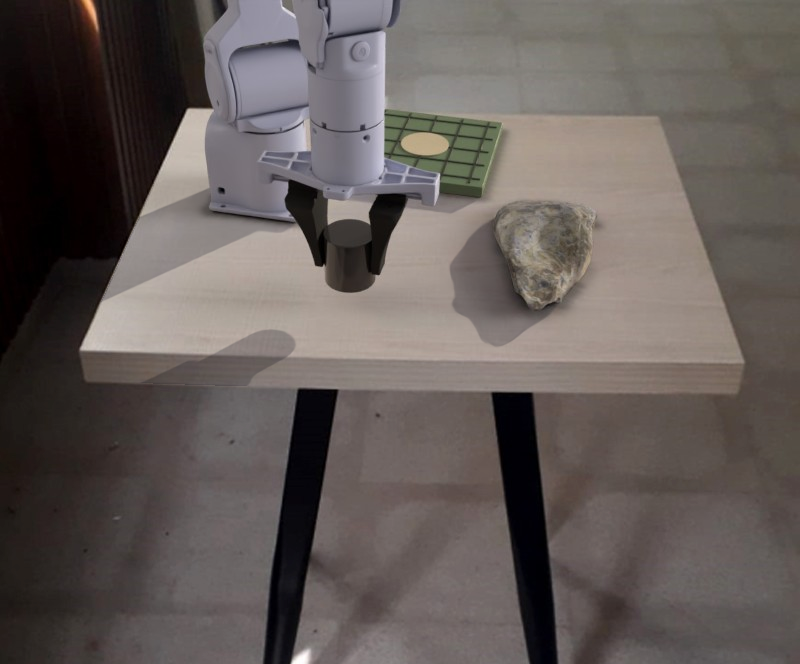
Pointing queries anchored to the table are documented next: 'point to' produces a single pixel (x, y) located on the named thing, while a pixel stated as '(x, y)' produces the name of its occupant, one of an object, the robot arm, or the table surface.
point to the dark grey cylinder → (348, 255)
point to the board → (444, 148)
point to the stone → (545, 247)
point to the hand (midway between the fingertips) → (349, 264)
